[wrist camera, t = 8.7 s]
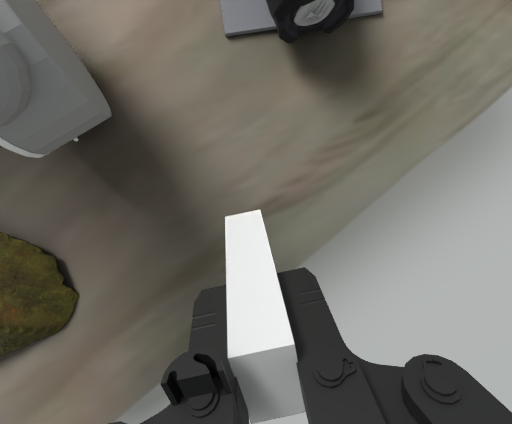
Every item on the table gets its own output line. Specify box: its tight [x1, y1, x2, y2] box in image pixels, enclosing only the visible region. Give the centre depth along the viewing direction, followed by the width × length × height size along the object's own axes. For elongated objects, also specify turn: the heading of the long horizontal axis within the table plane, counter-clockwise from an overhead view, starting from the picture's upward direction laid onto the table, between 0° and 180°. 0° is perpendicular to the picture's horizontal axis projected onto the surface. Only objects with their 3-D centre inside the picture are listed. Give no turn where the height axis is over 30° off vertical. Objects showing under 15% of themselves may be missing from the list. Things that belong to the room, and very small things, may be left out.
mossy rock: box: [0, 232, 79, 355], centre depth 32 cm, size 13×14×4 cm
